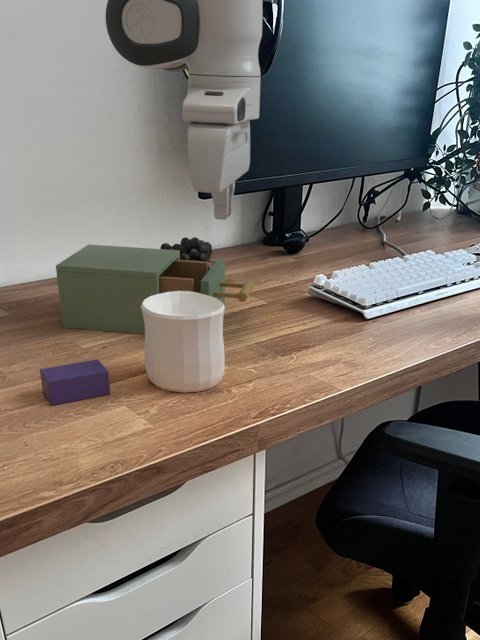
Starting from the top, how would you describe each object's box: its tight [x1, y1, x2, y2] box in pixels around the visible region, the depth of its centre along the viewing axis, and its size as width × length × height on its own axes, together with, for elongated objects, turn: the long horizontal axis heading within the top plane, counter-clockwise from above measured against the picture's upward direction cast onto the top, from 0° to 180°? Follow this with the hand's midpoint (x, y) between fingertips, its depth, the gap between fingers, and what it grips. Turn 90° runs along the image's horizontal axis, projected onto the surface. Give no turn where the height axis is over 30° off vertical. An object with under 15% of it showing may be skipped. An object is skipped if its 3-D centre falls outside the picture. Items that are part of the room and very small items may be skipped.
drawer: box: [159, 259, 255, 308], centre depth 102 cm, size 18×11×7 cm, turn 81°
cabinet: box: [55, 243, 180, 335], centre depth 103 cm, size 15×13×9 cm
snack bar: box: [39, 359, 111, 406], centre depth 81 cm, size 7×4×3 cm, turn 119°
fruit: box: [159, 236, 216, 271], centre depth 117 cm, size 9×8×15 cm
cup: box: [141, 291, 226, 394], centre depth 84 cm, size 10×10×10 cm
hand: (222, 217), depth 92 cm, fingers closed
